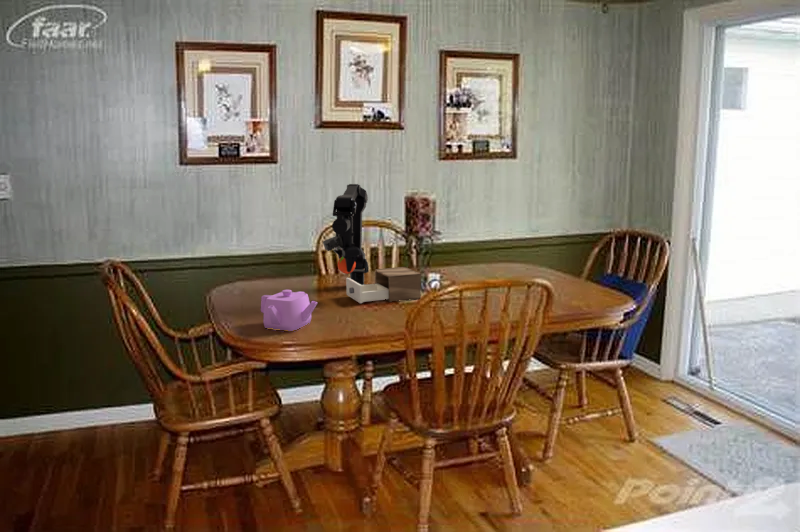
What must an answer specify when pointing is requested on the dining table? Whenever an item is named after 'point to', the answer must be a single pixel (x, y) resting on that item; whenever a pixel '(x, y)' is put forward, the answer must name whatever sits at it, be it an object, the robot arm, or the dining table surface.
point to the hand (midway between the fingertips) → (345, 270)
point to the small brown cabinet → (399, 283)
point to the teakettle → (287, 310)
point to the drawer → (366, 291)
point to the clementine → (344, 266)
